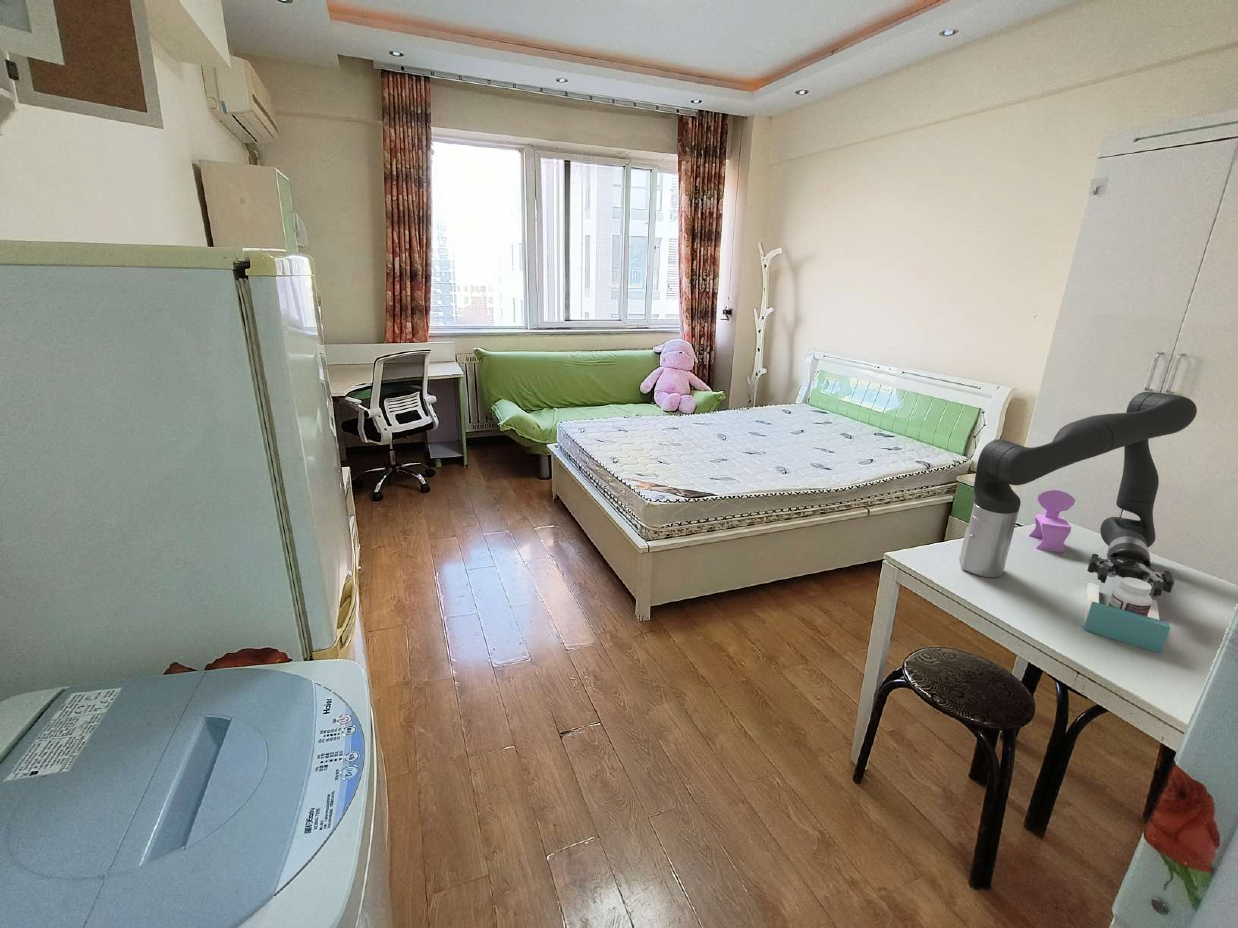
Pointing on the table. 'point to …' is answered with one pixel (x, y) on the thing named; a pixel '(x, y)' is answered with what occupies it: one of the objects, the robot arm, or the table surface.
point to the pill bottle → (1132, 596)
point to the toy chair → (1053, 520)
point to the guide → (1125, 623)
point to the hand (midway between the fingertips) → (1129, 585)
